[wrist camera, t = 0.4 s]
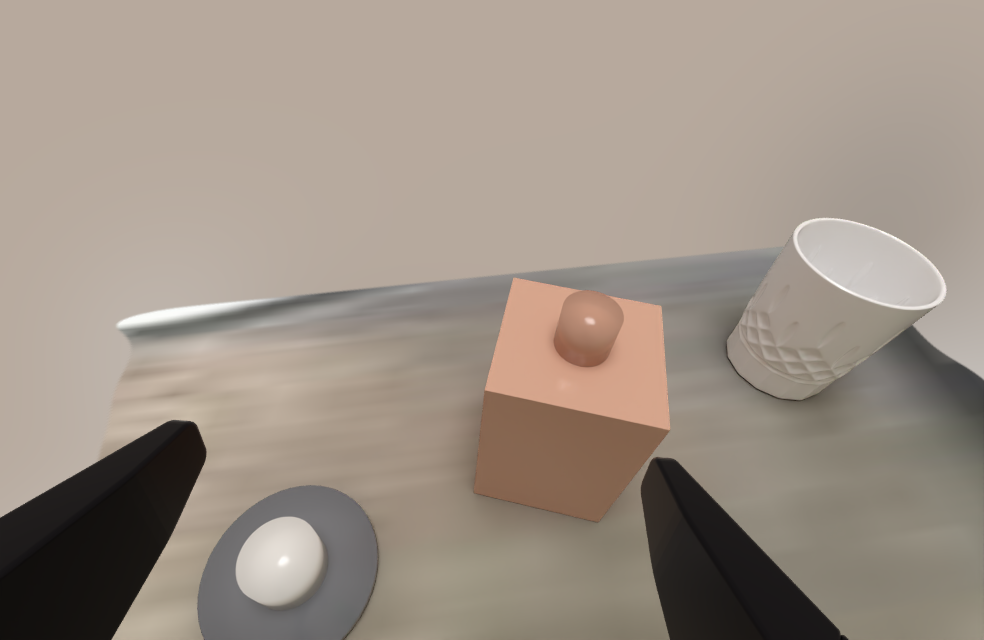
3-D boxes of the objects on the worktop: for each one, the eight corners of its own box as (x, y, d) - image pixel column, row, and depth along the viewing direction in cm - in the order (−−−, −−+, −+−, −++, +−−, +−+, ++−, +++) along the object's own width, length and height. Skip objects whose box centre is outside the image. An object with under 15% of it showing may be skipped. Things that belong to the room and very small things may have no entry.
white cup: (840, 423, 30) (972, 325, 22) (719, 389, 31) (805, 286, 23) (818, 337, 35) (919, 234, 27) (715, 311, 36) (784, 206, 28)
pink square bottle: (598, 522, 24) (692, 401, 15) (473, 492, 25) (487, 358, 15) (602, 418, 28) (677, 274, 19) (496, 395, 29) (518, 244, 20)
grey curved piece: (365, 672, 19) (363, 671, 19) (172, 680, 19) (165, 680, 18) (386, 488, 25) (385, 484, 24) (237, 490, 24) (233, 486, 24)
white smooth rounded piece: (319, 609, 20) (308, 600, 19) (242, 612, 20) (223, 602, 18) (334, 530, 22) (325, 515, 21) (265, 531, 22) (250, 517, 21)
